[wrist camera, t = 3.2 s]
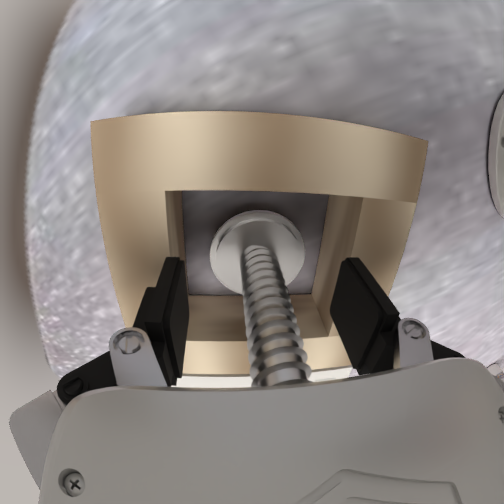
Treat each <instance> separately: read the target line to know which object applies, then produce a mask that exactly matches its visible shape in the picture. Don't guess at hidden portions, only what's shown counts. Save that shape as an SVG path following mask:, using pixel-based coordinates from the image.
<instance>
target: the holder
mask: <svg viewBox="0 0 504 504" xmlns="http://www.w3.org/2000/svg"><path fill="white" fill-rule="evenodd" d="M91 144H92V158H93V170H94V180H95V188H96V196H97V204H98V210H99V217H100V223H101V229H102V234H103V240H104V245H105V250H106V254H107V259H108V264H109V268H110V272H111V276H112V280H113V284H114V288H115V292H116V296H117V299H118V303H119V307H120V310H121V313H122V317H123V320H124V323H125V327H126V328H129V327H133V324H134V321H135V318H136V315H137V312H138V309H139V307H140V304H141V301H142V298H143V296H144V293H145V290H146V288H147V287H156V284H157V281H158V278H159V275H160V272H161V270H162V267H163V264H164V261H165V258H166V257H180V260H184V262H185V271H186V259H185V245H184V229H183V210H182V190H239V191H274V192H297V193H314V194H329V198H328V205H327V212H326V218H325V224H324V230H323V236H322V242H321V247H320V253H319V258H318V263H317V269H316V274H315V279H314V284H313V289H312V293H311V294H305V295H289V296H290V299H291V304H292V306H293V309H294V312H293V313H294V314H295V316H296V318H297V323H296V324H297V325H298V326H299V328H300V337H301V338H302V339H303V342H304V346H303V350H304V351H305V352H306V353H307V356H308V358H307V361H306V364H308V365H309V366H310V367H311V369H312V370H314V369H323V368H332V367H340V366H347V365H351V362H350V360H349V357H348V355H347V353H346V350H345V348H344V345H343V343H342V341H341V338H340V336H339V334H338V331H337V329H336V327H335V324H334V322H333V320H332V318H331V315H330V305H331V301H332V298H333V294H334V290H335V286H336V282H337V278H338V274H339V270H340V265H341V262H342V261H345V259H346V258H347V257H358V258H360V260H361V261H362V262H363V263H364V265H365V266H366V267H367V269H368V270H369V271H370V273H371V274H372V275H373V277H374V278H375V279H376V281H377V282H378V284H379V285H380V286H381V288H382V289H383V290H384V292H385V293H386V295H387V296H389V293H390V290H391V288H392V285H393V282H394V279H395V276H396V273H397V271H398V268H399V265H400V261H401V258H402V255H403V252H404V249H405V245H406V242H407V238H408V235H409V231H410V228H411V224H412V220H413V216H414V212H415V208H416V204H417V200H418V195H419V191H420V186H421V181H422V176H423V171H424V165H425V160H426V154H427V147H428V141H426V140H423V139H419V138H416V137H412V136H408V135H404V134H400V133H396V132H392V131H388V130H384V129H379V128H374V127H370V126H365V125H359V124H354V123H348V122H343V121H336V120H330V119H323V118H315V117H307V116H298V115H289V114H277V113H263V112H242V111H188V112H168V113H154V114H142V115H133V116H124V117H116V118H109V119H102V120H96V121H91ZM186 282H187V271H186ZM187 293H188V282H187ZM188 302H189V324H188V331H187V339H186V347H185V355H184V364H183V373H187V374H250V366H251V365H250V363H249V360H248V354H249V351H248V348H247V340H248V339H247V336H246V325H245V315H244V304H243V296H204V295H189V293H188Z"/></svg>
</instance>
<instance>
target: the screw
mask: <svg viewBox="0 0 504 504" xmlns="http://www.w3.org/2000/svg"><path fill="white" fill-rule="evenodd" d="M304 258H305V246H304V241H303V239H302V236H301V234H300V232H299V231H298V229H297V228H296V226H295V225H294V224H293V223H292V222H291V221H290V220H288V219H287V218H286V217H284V216H282V215H280V214H278V213H275V212H271V211H267V210H253V211H247V212H243V213H241V214H238V215H236V216H234V217H232V218H231V219H229V220H228V221H226V222H225V223H224V224H223V225H222V226H221V227H220V228H219V229H218V231H217V232H216V234H215V236H214V237H213V240H212V244H211V247H210V263H211V268H212V270H213V272H214V274H215V276H216V277H217V279H218V280H219V281H220V282H221V283H222V284H223V285H224V286H225V287H227V288H228V289H230V290H232V291H234V292H236V293H239V294H243V304H244V315H245V325H246V336H247V339H248V340H247V348H248V351H249V354H248V360H249V363H250V365H251V366H250V376H251V378H252V380H253V381H252V384H251V387H264V386H280V385H292V384H303V383H312V381H310V380H308V378H309V377H310V375H311V373H312V369H311V367H310V366H309V365H308V364H306V361H307V358H308V356H307V353H306V352H305V351H304V350H303V346H304V342H303V339H302V338H301V337H300V328H299V326H298V325H297V324H296V323H297V318H296V316H295V314H294V313H293V312H294V309H293V306H292V304H291V299H290V296H289V294H288V289H287V287H286V286H287V285H288V284H290V283H291V282H292V281H293V280H294V278H295V277H296V276H297V275H298V273H299V272H300V270H301V268H302V265H303V262H304Z"/></svg>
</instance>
